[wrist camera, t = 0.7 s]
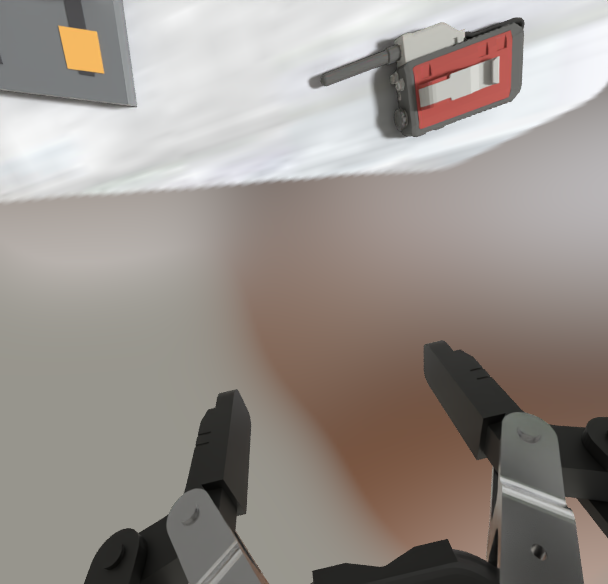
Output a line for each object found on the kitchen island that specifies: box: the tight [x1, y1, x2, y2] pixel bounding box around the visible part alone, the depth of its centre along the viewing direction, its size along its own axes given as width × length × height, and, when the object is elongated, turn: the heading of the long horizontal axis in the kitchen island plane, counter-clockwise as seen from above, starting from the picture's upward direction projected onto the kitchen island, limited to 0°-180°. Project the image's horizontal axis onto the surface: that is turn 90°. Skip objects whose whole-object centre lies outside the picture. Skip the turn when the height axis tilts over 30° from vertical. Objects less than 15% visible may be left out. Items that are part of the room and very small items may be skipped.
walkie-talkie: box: [321, 18, 524, 137], centre depth 28 cm, size 9×4×20 cm
